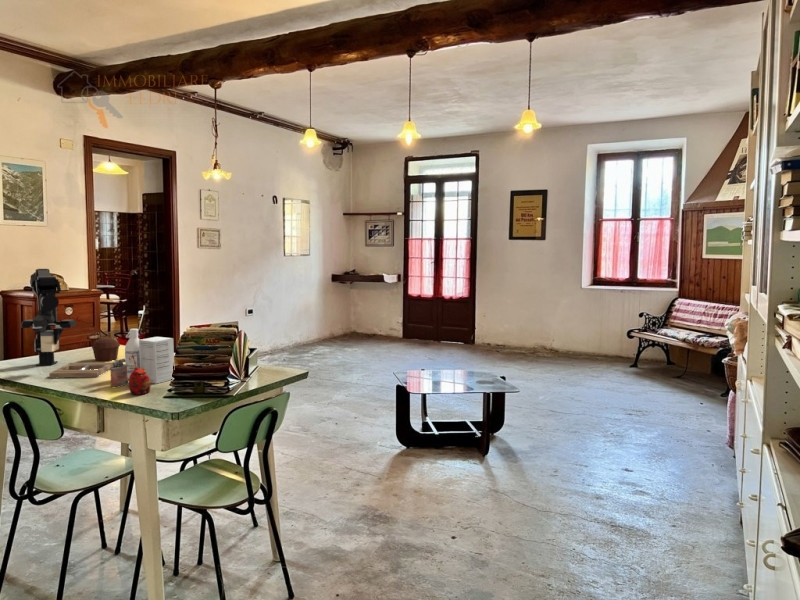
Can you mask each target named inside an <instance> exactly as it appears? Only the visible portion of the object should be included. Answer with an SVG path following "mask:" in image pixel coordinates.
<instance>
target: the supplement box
mask: <svg viewBox="0 0 800 600" xmlns="http://www.w3.org/2000/svg"><path fill="white" fill-rule="evenodd" d="M174 351H175V350H174V338H173V337H164V336H153V337H147V338H143V339H140V340H139V355H140V369H141V368H143V369H144V370H145V371H146V373H147V375H148V377H149V379H150V384H159V383H160V384H161V383H163V382H164V383H165V382H169V381H172V380H173V379H172V368H173V360H174V361H175V352H174ZM171 379H172V380H171Z"/></svg>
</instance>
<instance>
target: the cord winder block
mask: <svg viewBox="0 0 800 600" xmlns="http://www.w3.org/2000/svg"><path fill="white" fill-rule="evenodd" d="M40 334H41V348H40V349H41V352H52V351H54V352H55V351H58V349H59V350H60V339H59V340H58V342H57V344H54V331H53V329H52V330H47V331H44V332H41V333H40Z"/></svg>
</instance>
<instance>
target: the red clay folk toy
mask: <svg viewBox="0 0 800 600" xmlns="http://www.w3.org/2000/svg"><path fill="white" fill-rule="evenodd" d="M131 354H132V353H131ZM135 356H136V355H135ZM130 357H131V358H130ZM130 357H129V360H131V359H132V358H133V359H134V355H133V354H132V356H130ZM134 364H135V369H134V371H133V372H132V373H131V375H130V379H128V388H129V392H130V394H132V395H133V394H135V395H136V396H140V395H143V394H148V393H150V391H151V388H152V387H151V386H152V385H151V383H150V379H149V377H148V375H147V373H146V371H145V370H144V369H143V368H141V369H138V368H137V366H136V362H135V359H134ZM135 395H134V396H135Z"/></svg>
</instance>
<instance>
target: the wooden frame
mask: <svg viewBox="0 0 800 600" xmlns="http://www.w3.org/2000/svg"><path fill="white" fill-rule="evenodd" d="M113 362H114V361H107V362H69V363H68V364H66V365H63V366H62V367H60V368H57V369H55V370H53V371H52V372H49V374H48V375H49V379H57V378H56V377H87V378H99V377H100V376H99V375H101V374H102V375H103V373H104V374H106V373H107V372H109V371H110V368H111V367H113ZM90 369H91V370H90ZM94 369H98V370H94ZM108 370H109V371H108ZM106 371H107V372H106ZM102 375H101V376H102ZM98 376H99V377H98Z"/></svg>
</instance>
